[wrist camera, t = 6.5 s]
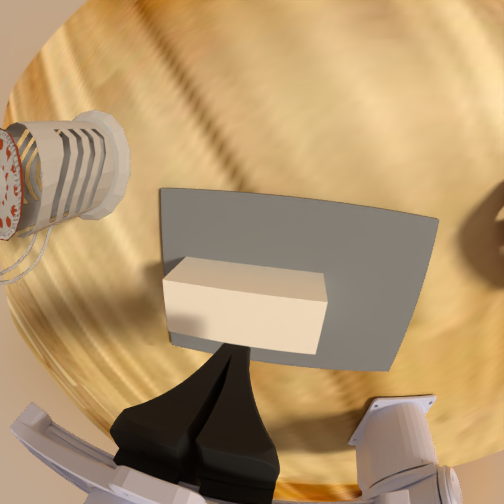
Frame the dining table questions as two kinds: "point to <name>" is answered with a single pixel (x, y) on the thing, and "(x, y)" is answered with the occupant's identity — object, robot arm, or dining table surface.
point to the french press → (61, 174)
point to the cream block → (246, 304)
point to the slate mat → (311, 264)
